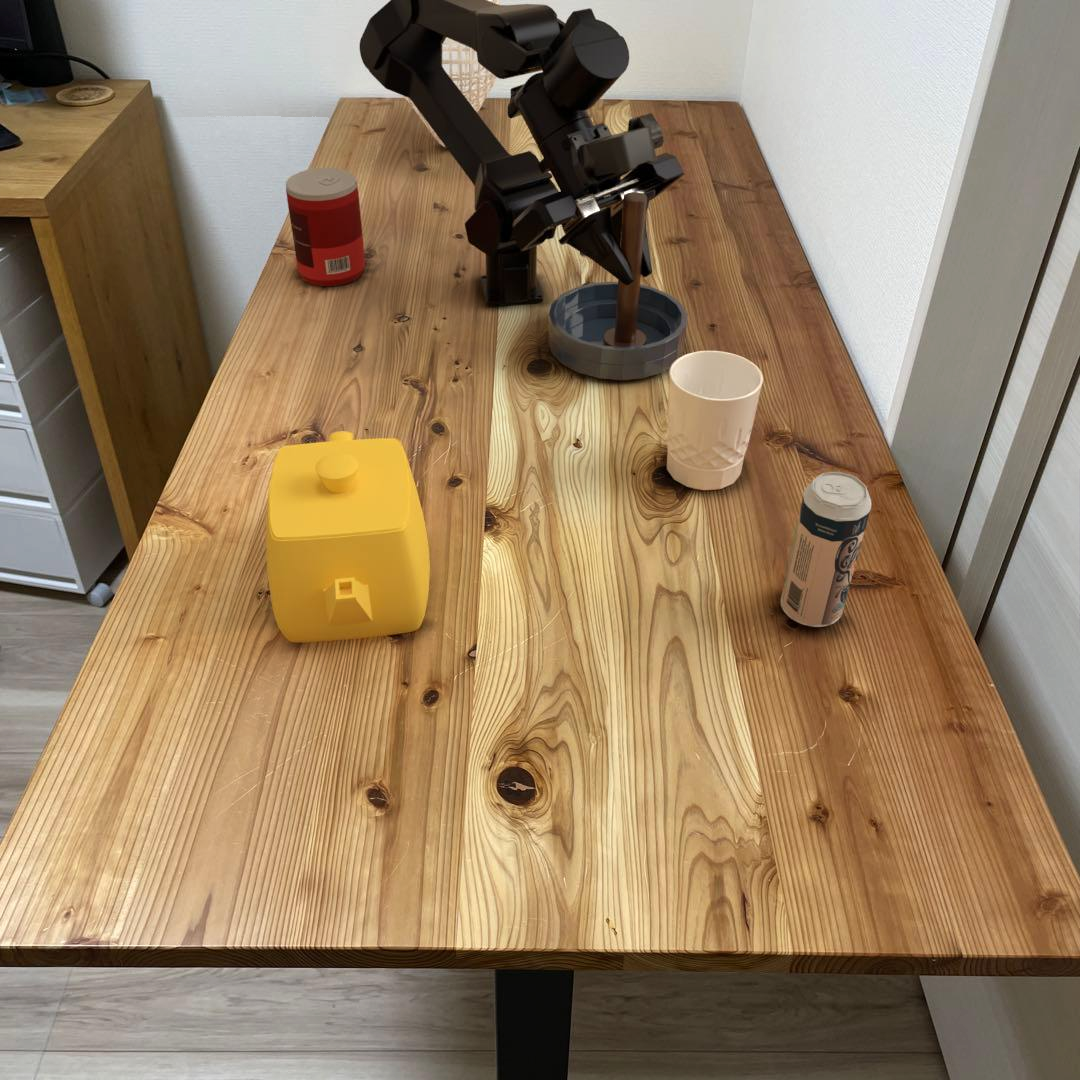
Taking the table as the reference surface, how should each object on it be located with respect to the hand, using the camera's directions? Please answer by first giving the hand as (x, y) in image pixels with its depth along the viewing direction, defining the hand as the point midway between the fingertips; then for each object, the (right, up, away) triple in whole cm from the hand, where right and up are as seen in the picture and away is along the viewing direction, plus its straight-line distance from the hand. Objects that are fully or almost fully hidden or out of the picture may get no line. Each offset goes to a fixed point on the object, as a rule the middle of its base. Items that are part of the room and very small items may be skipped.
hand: (639, 279), depth 105 cm
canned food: (-34, +6, +21) cm, 40 cm away
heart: (-23, +32, +51) cm, 64 cm away
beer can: (+11, -31, -21) cm, 39 cm away
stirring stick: (-1, -5, +6) cm, 8 cm away
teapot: (-24, -30, -20) cm, 43 cm away
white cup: (+5, -19, -7) cm, 21 cm away
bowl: (-2, -5, +9) cm, 10 cm away
